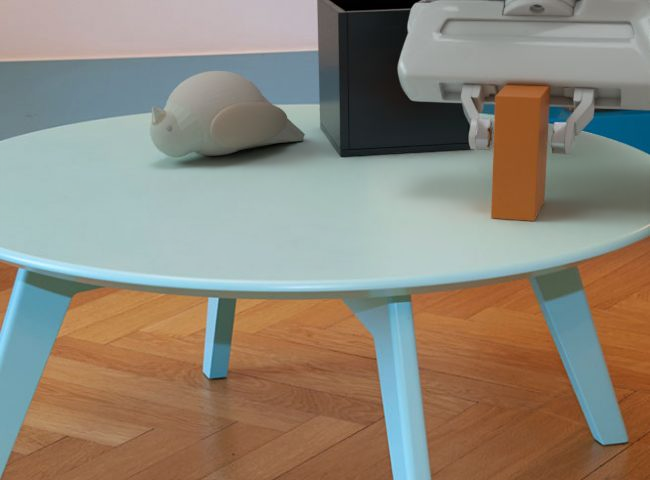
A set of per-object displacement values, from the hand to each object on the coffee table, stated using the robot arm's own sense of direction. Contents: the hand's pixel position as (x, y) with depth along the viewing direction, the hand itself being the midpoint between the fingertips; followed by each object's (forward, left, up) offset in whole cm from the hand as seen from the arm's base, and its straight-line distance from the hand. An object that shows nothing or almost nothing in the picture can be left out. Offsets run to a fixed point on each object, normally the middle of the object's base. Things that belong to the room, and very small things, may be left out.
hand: (519, 148), depth 83 cm
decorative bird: (+20, -25, -5) cm, 32 cm away
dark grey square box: (+4, -27, -5) cm, 27 cm away
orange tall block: (0, -1, -5) cm, 5 cm away
